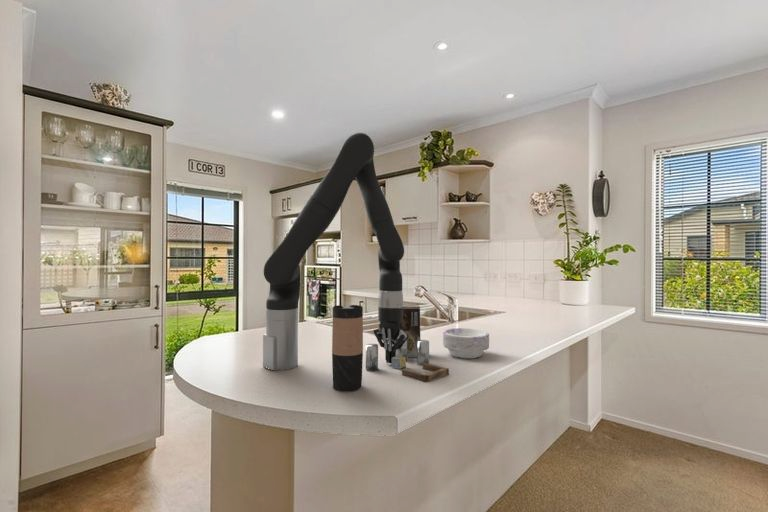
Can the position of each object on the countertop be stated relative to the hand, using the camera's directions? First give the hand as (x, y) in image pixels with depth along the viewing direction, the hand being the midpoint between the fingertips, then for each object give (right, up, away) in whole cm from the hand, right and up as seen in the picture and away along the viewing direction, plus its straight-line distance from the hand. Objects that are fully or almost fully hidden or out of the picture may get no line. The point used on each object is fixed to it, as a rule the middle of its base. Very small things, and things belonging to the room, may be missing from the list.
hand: (390, 362), depth 114 cm
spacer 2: (+4, -1, +6) cm, 7 cm away
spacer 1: (-5, -1, -5) cm, 7 cm away
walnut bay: (+9, -1, -10) cm, 13 cm away
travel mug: (-11, -1, -20) cm, 23 cm away
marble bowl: (+26, -1, +12) cm, 28 cm away
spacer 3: (+10, -1, +1) cm, 10 cm away
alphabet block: (+2, -1, -3) cm, 4 cm away
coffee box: (+6, -1, +12) cm, 14 cm away
